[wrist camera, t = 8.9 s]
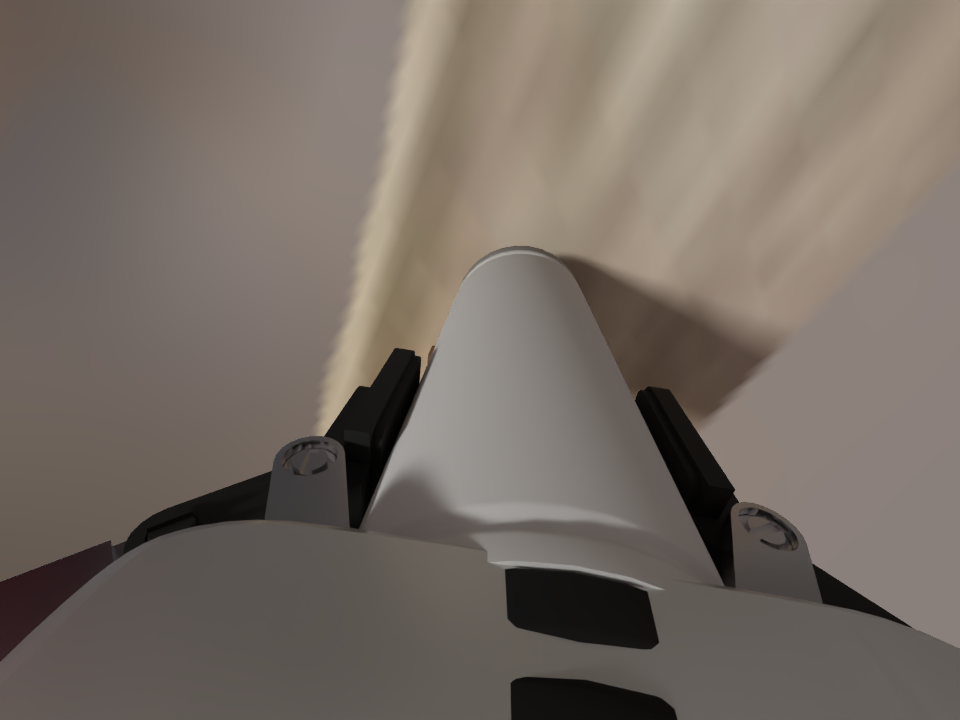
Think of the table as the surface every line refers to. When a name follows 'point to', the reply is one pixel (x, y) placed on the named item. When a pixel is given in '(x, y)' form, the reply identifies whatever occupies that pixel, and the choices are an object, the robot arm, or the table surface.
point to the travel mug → (543, 476)
